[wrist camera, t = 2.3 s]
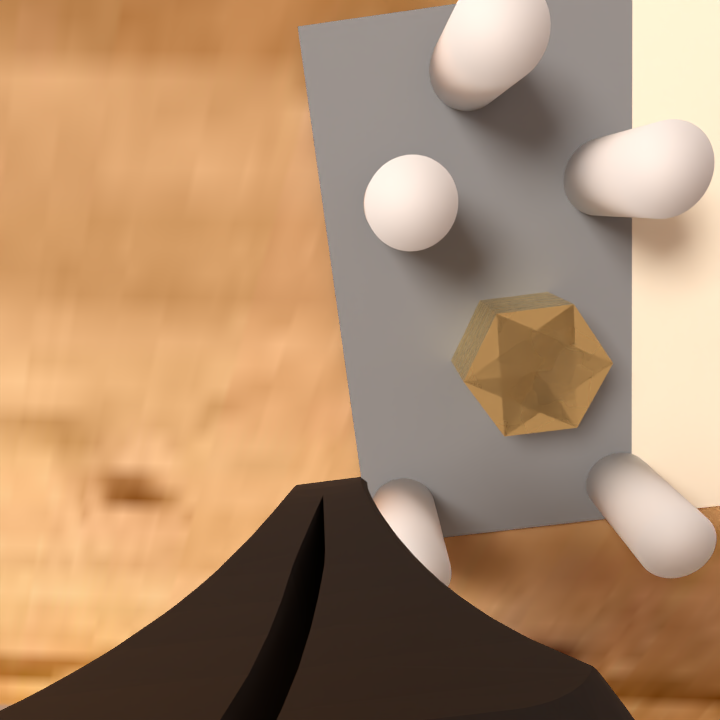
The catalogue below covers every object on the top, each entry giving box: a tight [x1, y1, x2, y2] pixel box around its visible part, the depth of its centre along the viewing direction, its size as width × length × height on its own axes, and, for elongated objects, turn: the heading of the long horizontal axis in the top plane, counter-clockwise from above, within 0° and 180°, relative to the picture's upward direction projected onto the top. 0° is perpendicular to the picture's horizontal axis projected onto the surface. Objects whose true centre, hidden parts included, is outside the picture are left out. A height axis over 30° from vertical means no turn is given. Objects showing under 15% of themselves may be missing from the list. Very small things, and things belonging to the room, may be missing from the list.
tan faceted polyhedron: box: [451, 292, 613, 437], centre depth 19 cm, size 5×4×2 cm
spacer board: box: [298, 0, 720, 587], centre depth 17 cm, size 15×18×4 cm
